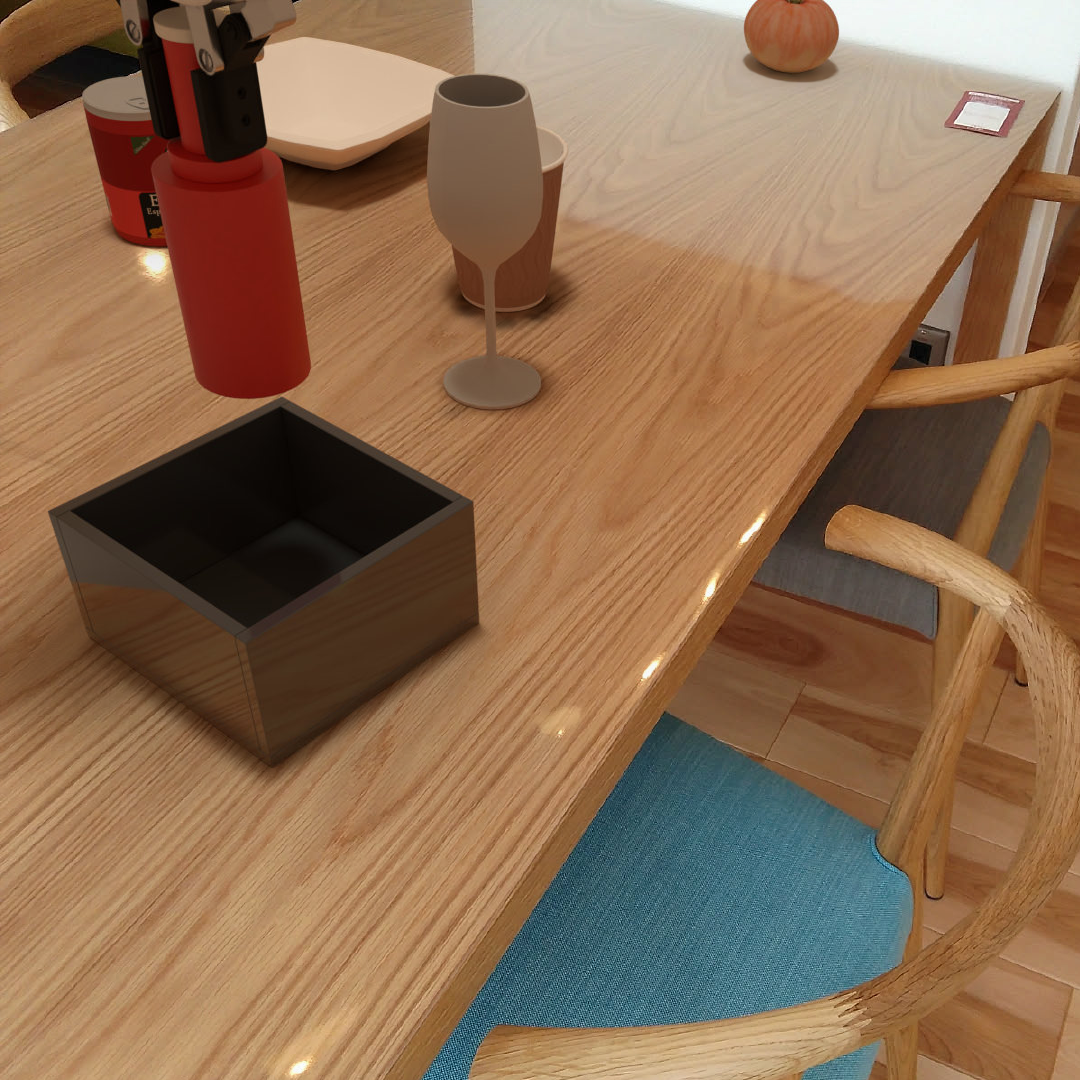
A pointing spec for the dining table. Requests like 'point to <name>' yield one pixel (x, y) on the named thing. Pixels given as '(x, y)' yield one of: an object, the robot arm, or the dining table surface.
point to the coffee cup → (531, 265)
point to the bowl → (340, 100)
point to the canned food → (126, 156)
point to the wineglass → (486, 210)
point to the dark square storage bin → (272, 573)
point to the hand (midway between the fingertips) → (211, 138)
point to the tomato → (791, 33)
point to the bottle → (228, 247)
